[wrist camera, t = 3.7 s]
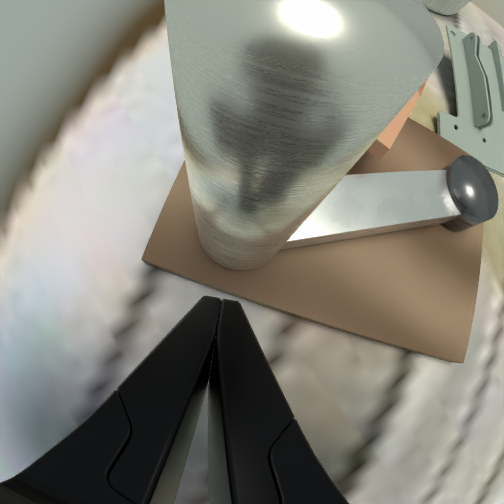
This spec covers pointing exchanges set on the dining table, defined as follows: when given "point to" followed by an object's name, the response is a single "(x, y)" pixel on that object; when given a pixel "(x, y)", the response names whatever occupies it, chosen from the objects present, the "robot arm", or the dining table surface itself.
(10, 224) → the dining table surface
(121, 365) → the dining table surface
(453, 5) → the ramekin
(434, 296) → the board
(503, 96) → the metal bracket
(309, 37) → the grey cylinder with bar
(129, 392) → the robot arm
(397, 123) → the block
